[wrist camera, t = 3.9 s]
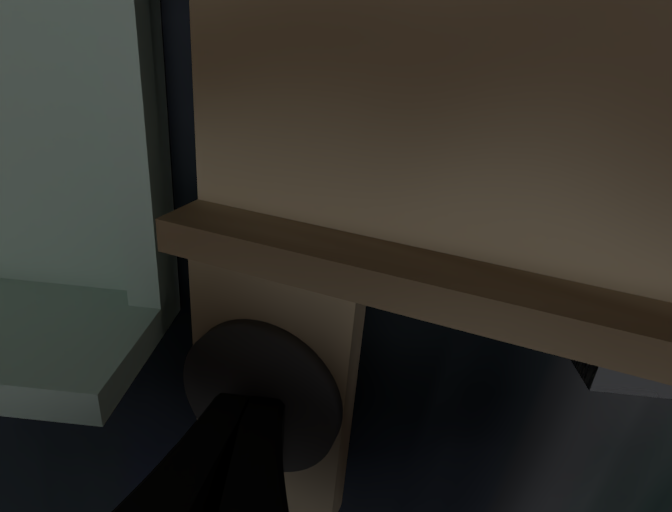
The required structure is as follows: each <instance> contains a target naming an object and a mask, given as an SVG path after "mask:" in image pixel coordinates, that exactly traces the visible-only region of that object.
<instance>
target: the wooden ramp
mask: <svg viewBox="0 0 672 512" xmlns="http://www.w3.org/2000/svg"><path fill="white" fill-rule="evenodd" d="M189 7H190V30H191V53H192V76H193V98H194V121H195V144H196V167H197V190H198V199H197V200H195V201H193V202H191V203H189V204H187V205H184V206H182V207H180V208H178V209H176V210H174V211H171V212H169V213H167V214H165V215H163V216H161V217H158V218H156V219H155V221H156V233H157V245H158V251H159V252H163V253H167V254H171V255H174V256H178V257H182V258H186V259H188V267H189V285H190V303H191V320H192V338H193V346H192V347H191V348H190V350H189V352H188V354H187V356H186V359H185V362H184V369H183V381H184V388H185V392H186V396H187V398H188V401H189V404H190V406H191V408H192V410H193V412H194V414H195V415H196V417H197V419H198V418H199V417H200V416H201V414H202V413H203V412H204V411H205V409H206V408H207V407H208V405H209V404H210V403H211V402H212V400H213V399H214V398H215V396H217V395H218V394H220V393H227V394H237V395H247V396H249V401H250V398H251V396H256V397H266V398H276V399H280V400H281V401H282V402H283V403H284V405H285V420H284V442H283V470H284V478H285V487H286V495H287V502H288V509H289V512H338V511H339V509H340V506H341V504H342V497H343V489H344V480H345V472H346V464H347V456H348V448H349V440H350V432H351V424H352V416H353V408H354V399H355V391H356V383H357V375H358V367H359V359H360V351H361V343H362V335H363V327H364V318H365V310H366V306H369V307H373V308H377V309H381V310H384V311H388V312H392V313H396V314H400V315H404V316H407V317H411V318H415V319H419V320H423V321H426V322H430V323H434V324H438V325H442V326H446V327H449V328H453V329H457V330H461V331H465V332H468V333H472V334H476V335H480V336H484V337H488V338H491V339H495V340H499V341H503V342H507V343H511V344H514V345H518V346H522V347H526V348H530V349H533V350H537V351H541V352H545V353H549V354H553V355H556V356H560V357H564V358H568V359H572V360H575V361H579V362H583V363H587V364H591V365H595V366H598V367H602V368H606V369H610V370H614V371H617V372H621V373H625V374H629V375H633V376H637V377H640V378H644V379H648V380H652V381H656V382H659V383H663V384H667V385H671V386H672V0H189Z"/></svg>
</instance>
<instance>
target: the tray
mask: <svg viewBox="0 0 672 512" xmlns="http://www.w3.org/2000/svg"><path fill="white" fill-rule="evenodd" d="M171 211H174V205H173V190H172V175H171V160H170V145H169V130H168V115H167V100H166V85H165V70H164V54H163V39H162V24H161V9H160V0H0V416H5V417H15V418H24V419H33V420H43V421H52V422H62V423H71V424H81V425H90V426H99V427H103V426H104V424H105V423H106V421H107V420H108V418H109V417H110V415H111V414H112V412H113V411H114V409H115V408H116V406H117V405H118V403H119V402H120V400H121V399H122V397H123V396H124V394H125V393H126V391H127V390H128V388H129V387H130V385H131V384H132V382H133V381H134V379H135V378H136V376H137V375H138V373H139V372H140V370H141V369H142V367H143V366H144V364H145V363H146V361H147V360H148V358H149V357H150V355H151V354H152V352H153V351H154V349H155V348H156V346H157V345H158V343H159V342H160V340H161V339H162V337H163V336H164V334H165V333H166V331H167V330H168V328H169V327H170V325H171V324H172V322H173V321H174V319H175V318H176V316H177V315H178V313H179V312H180V295H179V280H178V265H177V256H174V255H171V254H167V253H163V252H159V251H158V245H157V233H156V221H155V219H156V218H158V217H161V216H163V215H165V214H167V213H169V212H171Z"/></svg>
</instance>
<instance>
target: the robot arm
mask: <svg viewBox="0 0 672 512" xmlns="http://www.w3.org/2000/svg"><path fill="white" fill-rule="evenodd" d="M284 420H285V405H284V403H283V402H282V401H281V400H280V399H276V398H266V397H256V396H251V398H250V401H249V396H247V395H237V394H227V393H220V394H218V395H217V396H215V398H214V399H213V400H212V402H211V403H210V404H209V405H208V407H207V408H206V409H205V411H204V412H203V413H202V414H201V416H200V417H199V418H198V419H197V421H196V422H195V423H194V424H193V425H192V427H191V428H190V429H189V430H188V431H187V432H186V434H185V435H184V436H183V437H182V438H181V440H180V441H179V442H178V443H177V444H176V445H175V446H174V447H173V449H172V450H171V451H170V452H169V453H168V454H167V455H166V456H165V457H164V458H163V460H162V461H161V462H160V463H159V464H158V465H157V466H156V467H155V468H154V469H153V471H152V472H151V473H150V474H149V475H148V476H147V477H146V478H145V479H144V480H143V481H142V482H141V483H140V484H139V485H138V486H137V487H136V488H135V489H134V490H133V491H132V492H131V493H130V494H129V495H128V496H127V497H126V498H125V499H124V500H123V501H122V502H121V503H120V504H119V505H118V506H117V507H116V508H115V509H114V510H113V511H112V512H289V509H288V502H287V495H286V487H285V478H284V470H283V442H284Z"/></svg>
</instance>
